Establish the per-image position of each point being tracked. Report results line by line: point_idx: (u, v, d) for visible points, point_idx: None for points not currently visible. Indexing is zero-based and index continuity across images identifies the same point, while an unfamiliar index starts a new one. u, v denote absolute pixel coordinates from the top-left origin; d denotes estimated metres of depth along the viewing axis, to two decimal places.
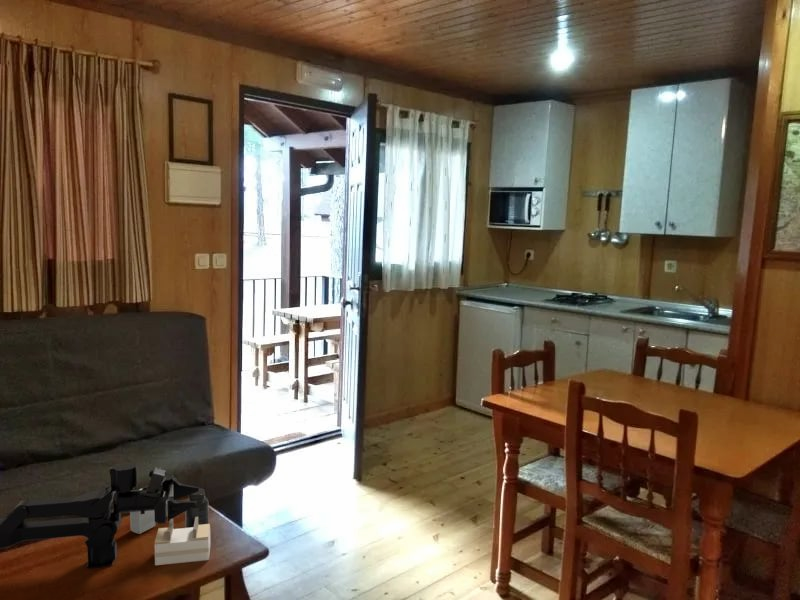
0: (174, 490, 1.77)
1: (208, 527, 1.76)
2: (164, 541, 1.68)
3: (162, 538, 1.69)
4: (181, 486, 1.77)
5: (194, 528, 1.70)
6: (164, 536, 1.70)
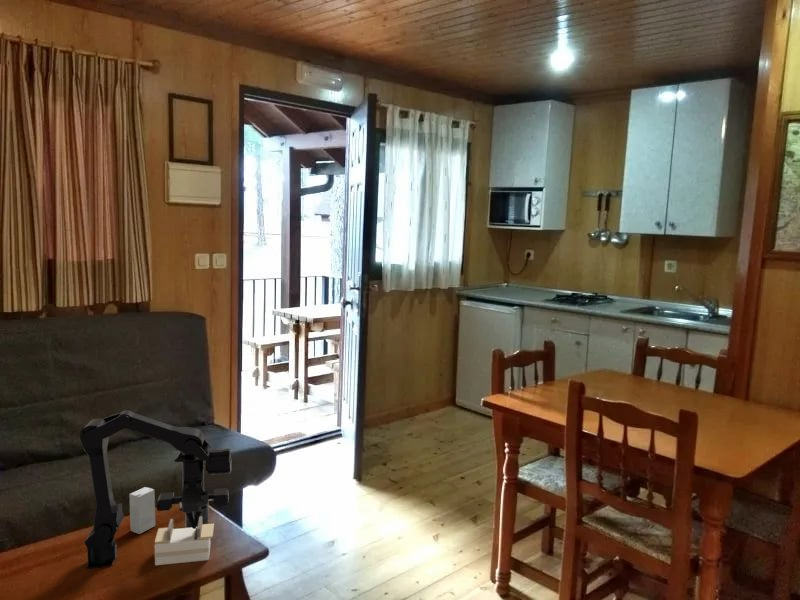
0: None
1: (212, 527, 1.76)
2: (164, 541, 1.68)
3: (162, 538, 1.69)
4: (195, 513, 1.72)
5: (198, 528, 1.70)
6: (164, 536, 1.70)
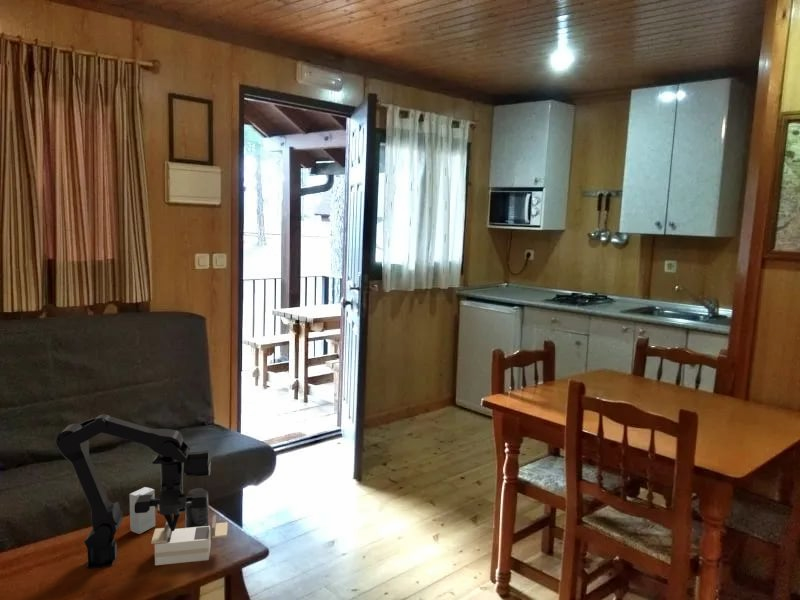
0: None
1: (226, 525, 1.77)
2: (161, 541, 1.68)
3: (158, 538, 1.69)
4: None
5: (213, 526, 1.71)
6: (160, 537, 1.70)
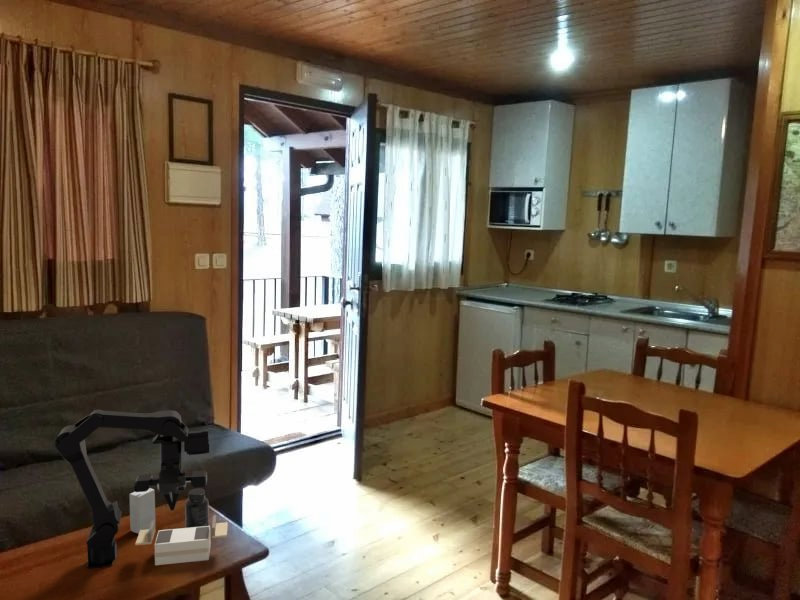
0: None
1: (226, 525, 1.77)
2: (145, 543, 1.67)
3: (143, 539, 1.68)
4: (173, 495, 1.72)
5: (213, 526, 1.71)
6: (145, 538, 1.69)
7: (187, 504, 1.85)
